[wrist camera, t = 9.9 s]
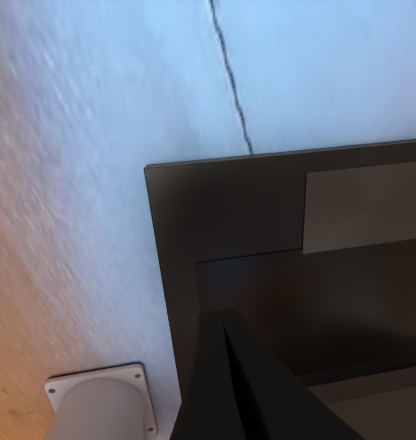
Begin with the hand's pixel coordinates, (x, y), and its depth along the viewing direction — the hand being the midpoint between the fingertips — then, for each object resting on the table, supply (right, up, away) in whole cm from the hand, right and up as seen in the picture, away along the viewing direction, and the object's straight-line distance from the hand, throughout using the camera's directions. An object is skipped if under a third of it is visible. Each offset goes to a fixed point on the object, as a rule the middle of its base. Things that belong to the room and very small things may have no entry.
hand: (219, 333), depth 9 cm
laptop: (+11, -1, +13) cm, 17 cm away
